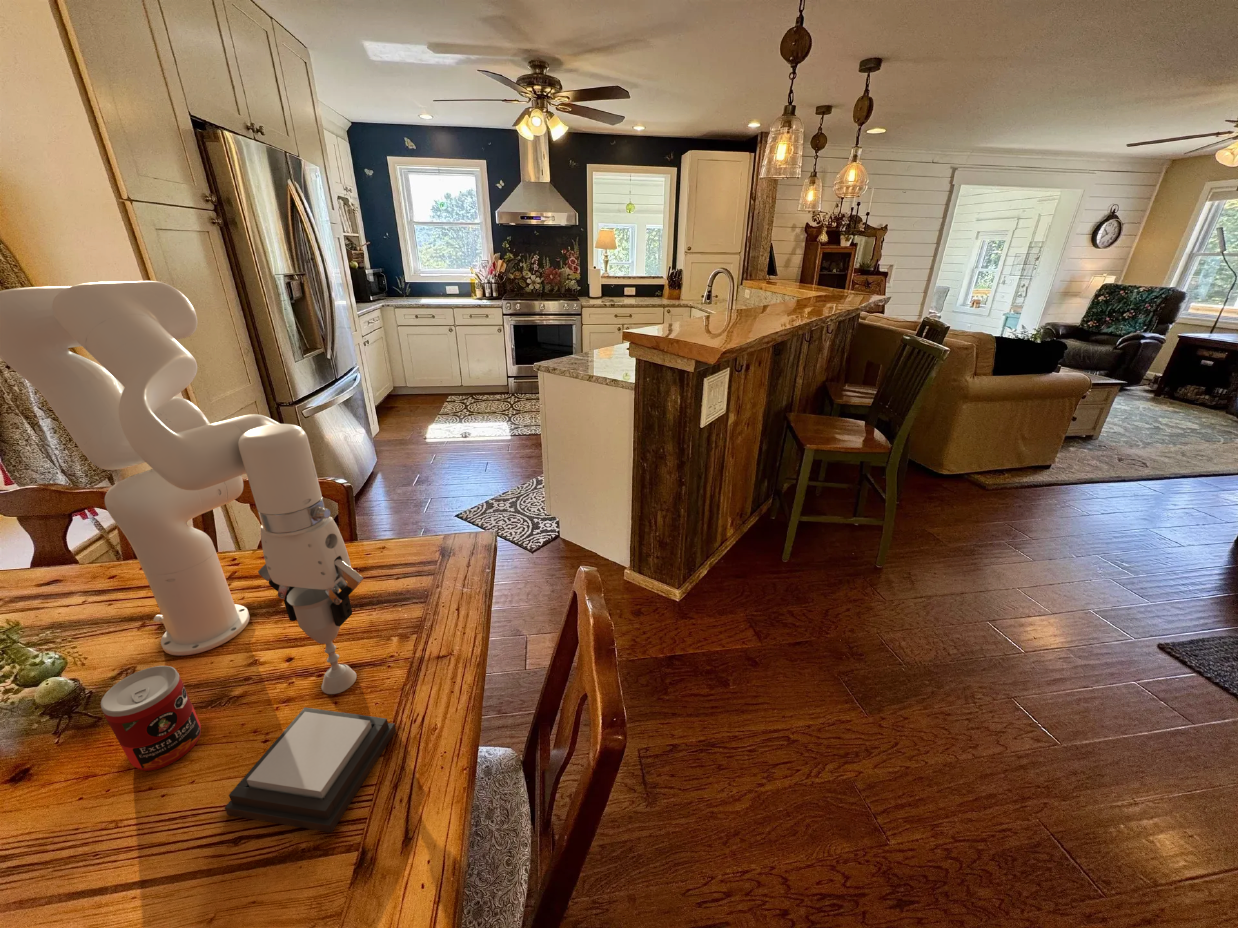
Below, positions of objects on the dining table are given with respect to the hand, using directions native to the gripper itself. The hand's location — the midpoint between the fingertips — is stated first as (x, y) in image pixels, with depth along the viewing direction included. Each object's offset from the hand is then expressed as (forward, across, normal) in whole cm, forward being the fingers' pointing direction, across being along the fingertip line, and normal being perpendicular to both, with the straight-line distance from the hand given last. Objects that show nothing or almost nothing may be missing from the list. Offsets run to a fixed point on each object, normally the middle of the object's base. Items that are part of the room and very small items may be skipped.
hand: (321, 616), depth 75 cm
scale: (+13, -7, +14) cm, 20 cm away
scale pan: (+11, -7, +14) cm, 19 cm away
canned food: (+13, +16, +14) cm, 25 cm away
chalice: (+13, 0, 0) cm, 13 cm away
